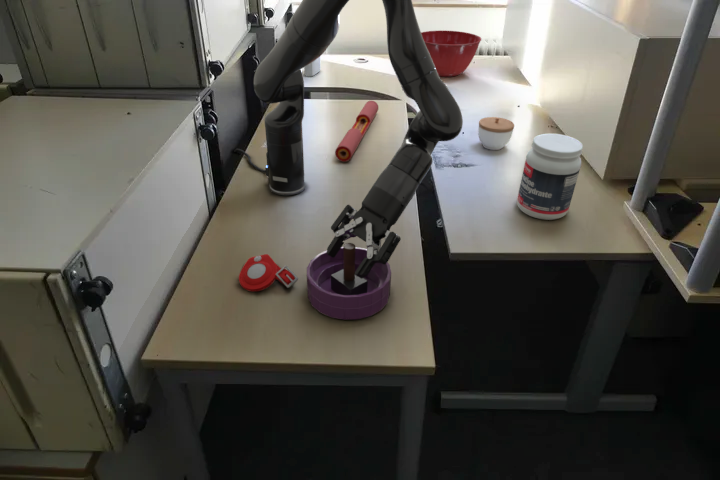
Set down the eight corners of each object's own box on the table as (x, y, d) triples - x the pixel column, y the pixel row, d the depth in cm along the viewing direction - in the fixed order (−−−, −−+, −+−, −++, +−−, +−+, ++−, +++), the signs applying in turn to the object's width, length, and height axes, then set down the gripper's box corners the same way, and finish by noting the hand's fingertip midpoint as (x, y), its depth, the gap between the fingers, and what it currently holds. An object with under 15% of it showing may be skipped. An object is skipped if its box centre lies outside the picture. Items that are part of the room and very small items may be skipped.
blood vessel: (364, 113, 191) (365, 99, 189) (378, 114, 190) (378, 101, 188) (335, 160, 157) (334, 145, 154) (351, 162, 156) (351, 147, 153)
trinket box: (510, 142, 172) (515, 114, 167) (509, 155, 163) (514, 126, 158) (477, 137, 174) (481, 110, 169) (474, 150, 165) (478, 121, 160)
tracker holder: (235, 291, 103) (237, 253, 110) (243, 304, 107) (244, 266, 113) (295, 278, 103) (293, 240, 109) (301, 291, 106) (299, 254, 113)
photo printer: (312, 77, 227) (311, 47, 220) (303, 76, 228) (302, 46, 221) (321, 71, 235) (321, 42, 228) (313, 69, 236) (312, 41, 229)
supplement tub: (506, 208, 135) (519, 141, 125) (532, 192, 143) (546, 127, 133) (552, 228, 128) (570, 158, 118) (577, 210, 135) (596, 142, 125)
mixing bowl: (401, 67, 242) (403, 32, 234) (453, 61, 253) (457, 27, 244) (433, 85, 221) (437, 46, 213) (489, 77, 231) (495, 41, 223)
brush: (330, 288, 106) (330, 243, 99) (347, 280, 108) (348, 235, 102) (350, 304, 102) (350, 257, 96) (367, 294, 104) (368, 248, 98)
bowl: (291, 290, 106) (290, 266, 102) (353, 260, 115) (353, 237, 111) (342, 334, 96) (343, 309, 92) (406, 297, 105) (408, 273, 101)
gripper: (355, 172, 102) (309, 243, 102) (408, 201, 93) (357, 278, 93) (375, 189, 108) (331, 255, 108) (426, 217, 99) (378, 289, 99)
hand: (343, 266), depth 100 cm, fingers open, 8 cm apart
